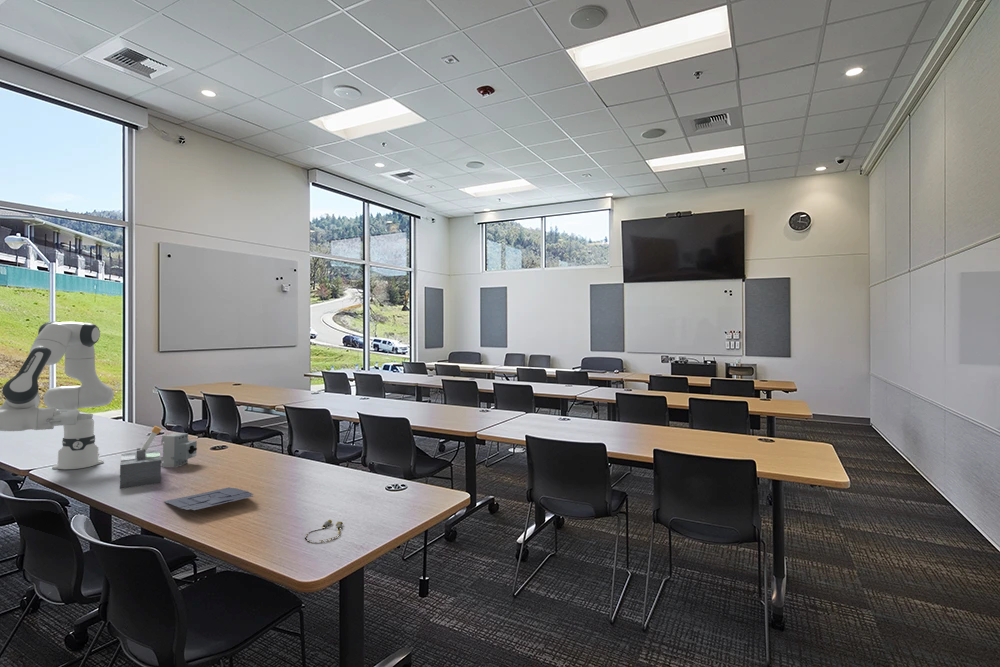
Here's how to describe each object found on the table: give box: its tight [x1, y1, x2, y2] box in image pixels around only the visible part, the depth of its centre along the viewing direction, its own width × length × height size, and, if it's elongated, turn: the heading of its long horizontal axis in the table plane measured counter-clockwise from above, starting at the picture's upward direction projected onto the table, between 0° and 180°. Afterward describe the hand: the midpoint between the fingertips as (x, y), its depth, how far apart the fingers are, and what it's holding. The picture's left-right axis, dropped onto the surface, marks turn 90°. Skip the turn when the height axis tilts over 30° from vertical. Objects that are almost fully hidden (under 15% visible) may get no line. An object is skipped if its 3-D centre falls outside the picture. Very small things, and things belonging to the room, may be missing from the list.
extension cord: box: [308, 519, 343, 542], centre depth 163 cm, size 12×16×2 cm
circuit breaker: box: [160, 432, 198, 468], centre depth 241 cm, size 8×14×15 cm, turn 89°
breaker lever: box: [140, 425, 162, 452], centre depth 219 cm, size 3×3×14 cm
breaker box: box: [119, 447, 162, 490], centre depth 217 cm, size 22×14×14 cm, turn 37°
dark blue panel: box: [163, 486, 255, 511], centre depth 189 cm, size 24×30×4 cm
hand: (92, 416), depth 207 cm, fingers closed
